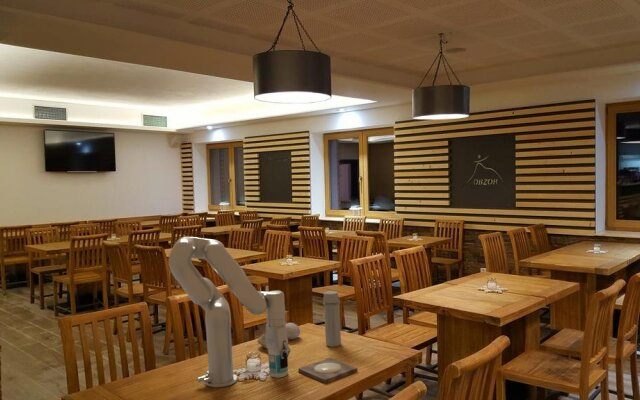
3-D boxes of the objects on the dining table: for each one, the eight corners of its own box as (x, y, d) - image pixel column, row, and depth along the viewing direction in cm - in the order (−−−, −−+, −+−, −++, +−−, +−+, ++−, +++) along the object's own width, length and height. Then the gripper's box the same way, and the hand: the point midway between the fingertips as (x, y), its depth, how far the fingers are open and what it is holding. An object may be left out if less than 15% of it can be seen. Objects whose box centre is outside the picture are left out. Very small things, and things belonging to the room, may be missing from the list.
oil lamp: (263, 354, 235) (262, 337, 235) (254, 345, 249) (254, 328, 249) (286, 350, 239) (285, 333, 239) (276, 341, 253) (275, 325, 253)
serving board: (325, 383, 199) (325, 379, 198) (298, 372, 212) (298, 367, 212) (357, 371, 209) (357, 367, 209) (330, 361, 222) (329, 357, 222)
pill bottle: (289, 371, 213) (287, 339, 212) (286, 378, 206) (284, 344, 205) (271, 371, 214) (269, 339, 213) (267, 378, 206) (266, 345, 206)
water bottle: (326, 342, 248) (323, 290, 247) (342, 342, 247) (340, 290, 246) (323, 348, 239) (321, 295, 238) (340, 348, 238) (338, 295, 237)
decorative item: (296, 323, 265) (292, 313, 258) (305, 340, 257) (301, 330, 250) (280, 331, 263) (276, 321, 256) (288, 349, 256) (284, 338, 249)
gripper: (256, 319, 213) (258, 362, 214) (281, 328, 200) (283, 373, 200) (271, 316, 218) (273, 357, 219) (296, 323, 204) (298, 367, 205)
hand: (278, 364), depth 209 cm, fingers closed on pill bottle, 7 cm apart
